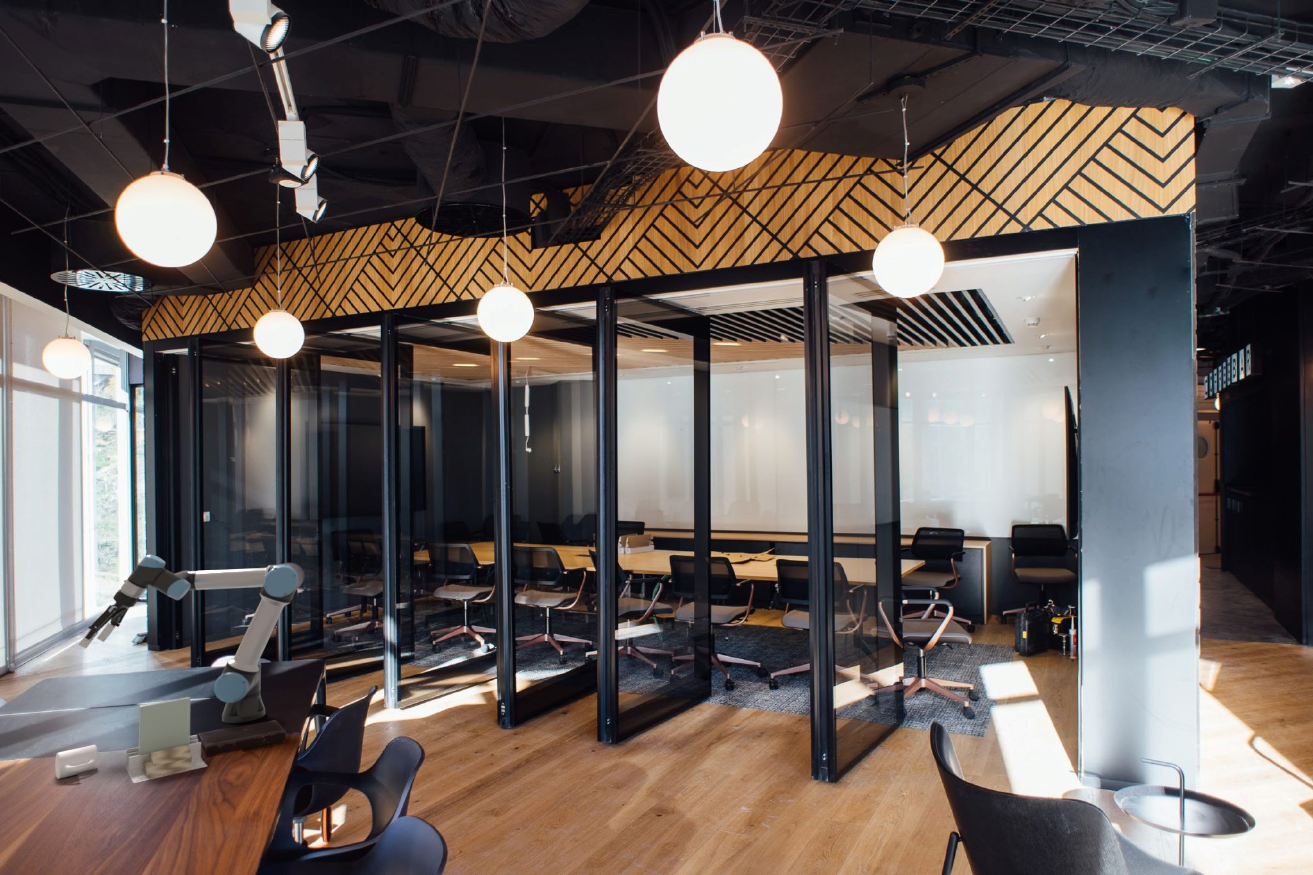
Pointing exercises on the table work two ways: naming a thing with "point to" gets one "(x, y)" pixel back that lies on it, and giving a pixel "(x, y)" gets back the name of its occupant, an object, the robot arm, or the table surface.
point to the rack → (137, 762)
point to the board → (164, 725)
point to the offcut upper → (170, 755)
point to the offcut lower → (167, 767)
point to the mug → (76, 761)
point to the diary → (243, 737)
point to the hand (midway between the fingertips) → (91, 643)
